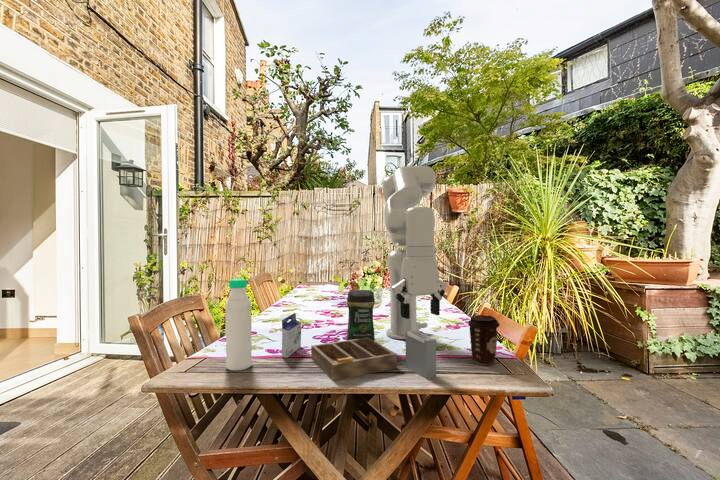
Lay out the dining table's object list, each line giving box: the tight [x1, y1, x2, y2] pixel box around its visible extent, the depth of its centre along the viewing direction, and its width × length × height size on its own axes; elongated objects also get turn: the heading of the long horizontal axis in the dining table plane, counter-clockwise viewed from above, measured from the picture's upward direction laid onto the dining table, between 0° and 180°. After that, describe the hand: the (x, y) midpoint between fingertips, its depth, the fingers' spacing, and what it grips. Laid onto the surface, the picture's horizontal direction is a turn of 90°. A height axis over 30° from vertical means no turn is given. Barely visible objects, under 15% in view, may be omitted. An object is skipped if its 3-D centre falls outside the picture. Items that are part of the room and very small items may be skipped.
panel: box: [405, 330, 437, 380], centre depth 99 cm, size 3×10×10 cm, turn 26°
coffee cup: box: [467, 314, 500, 366], centre depth 106 cm, size 9×8×13 cm
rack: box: [310, 337, 398, 381], centre depth 105 cm, size 19×18×5 cm
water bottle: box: [224, 278, 253, 372], centre depth 103 cm, size 7×7×25 cm
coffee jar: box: [346, 289, 376, 342], centre depth 123 cm, size 10×8×19 cm
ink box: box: [281, 312, 302, 359], centre depth 116 cm, size 12×2×12 cm, turn 168°
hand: (420, 316), depth 98 cm, fingers open, 9 cm apart
